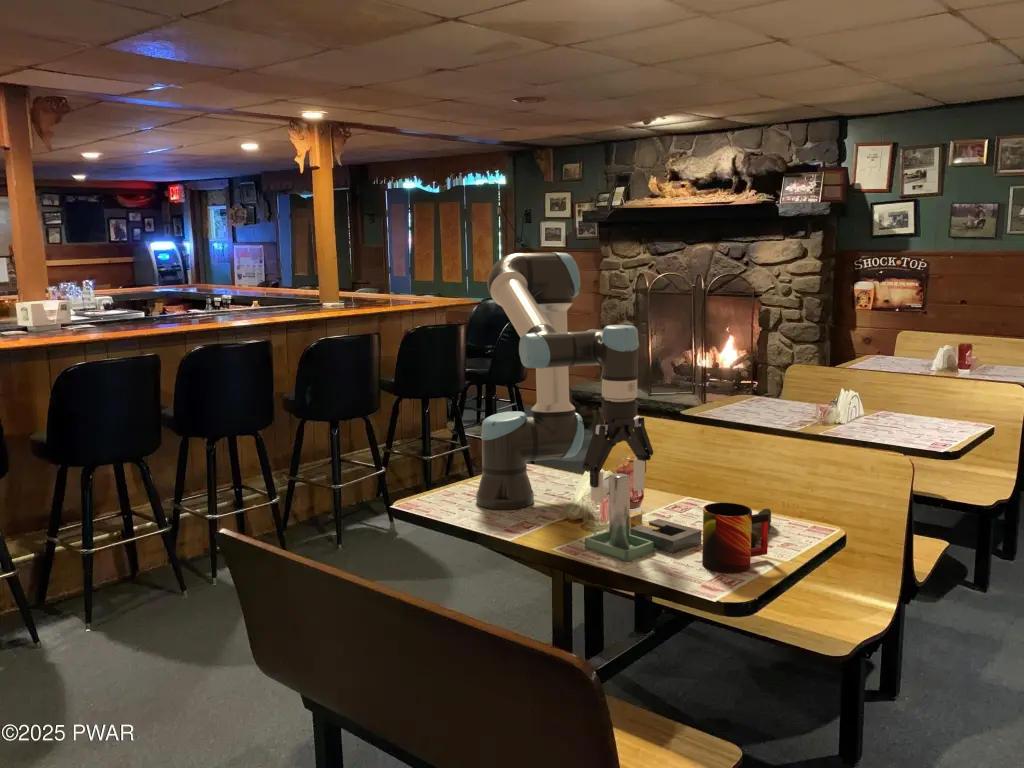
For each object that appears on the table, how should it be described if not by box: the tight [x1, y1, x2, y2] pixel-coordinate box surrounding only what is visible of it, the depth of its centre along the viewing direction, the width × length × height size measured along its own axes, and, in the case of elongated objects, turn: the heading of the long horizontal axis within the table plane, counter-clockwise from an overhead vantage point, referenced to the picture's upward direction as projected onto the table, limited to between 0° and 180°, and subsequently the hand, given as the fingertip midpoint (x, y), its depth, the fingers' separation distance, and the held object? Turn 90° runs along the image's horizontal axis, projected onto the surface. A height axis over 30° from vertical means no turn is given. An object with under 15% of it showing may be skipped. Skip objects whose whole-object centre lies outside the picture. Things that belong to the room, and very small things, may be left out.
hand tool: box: [751, 508, 772, 548], centre depth 190 cm, size 19×4×5 cm, turn 147°
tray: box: [584, 529, 655, 563], centre depth 182 cm, size 12×9×2 cm
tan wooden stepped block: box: [629, 511, 660, 534], centre depth 191 cm, size 8×4×4 cm, turn 41°
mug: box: [701, 502, 769, 575], centre depth 173 cm, size 10×14×12 cm
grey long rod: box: [608, 473, 631, 550], centre depth 181 cm, size 4×4×16 cm
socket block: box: [629, 518, 702, 555], centre depth 186 cm, size 12×10×3 cm
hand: (618, 494), depth 181 cm, fingers open, 13 cm apart
